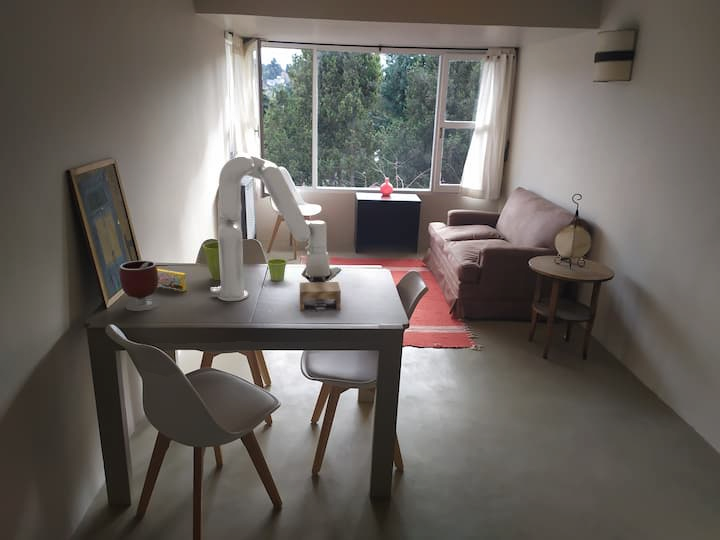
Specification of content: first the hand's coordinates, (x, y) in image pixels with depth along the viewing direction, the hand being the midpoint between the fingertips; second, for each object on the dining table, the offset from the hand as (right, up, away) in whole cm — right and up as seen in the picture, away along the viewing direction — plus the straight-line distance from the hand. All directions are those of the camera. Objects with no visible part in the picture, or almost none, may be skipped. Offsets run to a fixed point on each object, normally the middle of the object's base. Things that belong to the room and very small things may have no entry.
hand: (317, 289), depth 236 cm
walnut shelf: (+2, -6, -16) cm, 17 cm away
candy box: (-64, 0, 0) cm, 64 cm away
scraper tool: (+1, -3, -8) cm, 9 cm away
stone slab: (+2, +6, +26) cm, 27 cm away
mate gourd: (-68, -6, -22) cm, 71 cm away
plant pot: (-20, +4, +17) cm, 27 cm away
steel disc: (+3, -7, -20) cm, 22 cm away
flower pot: (-46, +5, +17) cm, 49 cm away
